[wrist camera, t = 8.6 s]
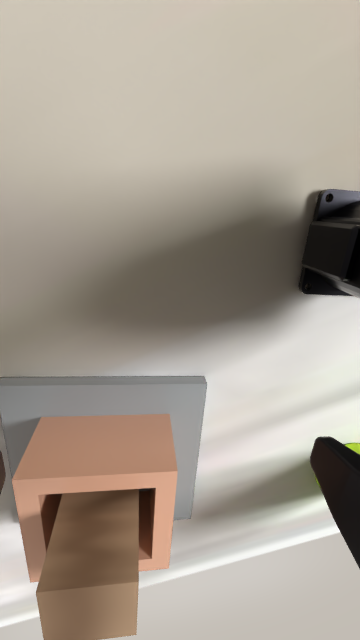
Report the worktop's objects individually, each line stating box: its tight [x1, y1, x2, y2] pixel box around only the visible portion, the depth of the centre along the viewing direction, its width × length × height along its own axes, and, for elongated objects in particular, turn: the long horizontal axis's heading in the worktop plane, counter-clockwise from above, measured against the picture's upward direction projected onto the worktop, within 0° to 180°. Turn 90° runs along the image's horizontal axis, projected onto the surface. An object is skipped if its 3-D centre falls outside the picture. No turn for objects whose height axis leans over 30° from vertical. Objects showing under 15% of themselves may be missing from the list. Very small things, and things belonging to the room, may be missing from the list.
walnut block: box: [36, 489, 139, 640], centre depth 18 cm, size 4×4×9 cm
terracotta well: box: [0, 376, 207, 582], centre depth 21 cm, size 14×14×6 cm
